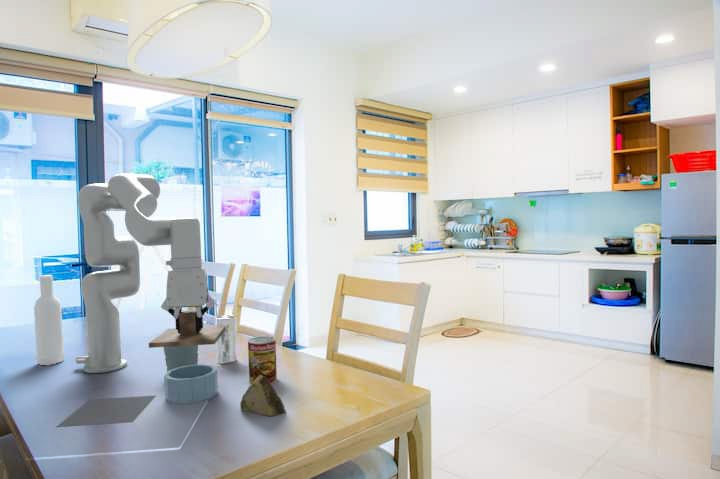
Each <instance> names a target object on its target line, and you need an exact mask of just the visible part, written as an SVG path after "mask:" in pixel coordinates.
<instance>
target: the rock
mask: <svg viewBox="0 0 720 479" xmlns="http://www.w3.org/2000/svg"><path fill="white" fill-rule="evenodd" d="M240 410H242V411H244V412H249V413H251V414H252V413H253V414H257V415H261V416H269V417H274V416H278V415H282V414H284V413H286V412H287V410H286V408H285V405H284V403H283V400H282V399H281V397H280V396H279V395H278V393H277V390H276V389H275V388H274V386H273V385H272V383H270V382H269V381H268V380H267V379H266V377H265V376H262V375H259V376H258V377H257V378H256V379H255V381H254V382H253V383H252V384H251V383H250V386H248V388H247V389H246V391H245V393H244V394H243V395H242V399H241V401H240Z"/></svg>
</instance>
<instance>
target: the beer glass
mask: <svg viewBox="0 0 720 479" xmlns="http://www.w3.org/2000/svg"><path fill="white" fill-rule="evenodd" d="M214 326H226V330H225V332H224V333H223V334H222V335H221V337H220V338H219V339H218V340H217V342H216V343H217V347H218V356H217V363H219V364H221V365H222V364H224V365H225V364H227V365H228V364H233V363H235V362H237V355H236V343H237V334H238V325H237V316H236V315H234V314H224V315H222V314H221V315H218V316H215V324H214Z"/></svg>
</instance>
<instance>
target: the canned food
mask: <svg viewBox="0 0 720 479" xmlns="http://www.w3.org/2000/svg"><path fill="white" fill-rule="evenodd" d="M276 346H277V342H276V338H275V337H273V336H257V337H253V338H249V339H248V340H247V353H248V379H249V380H248V381H249V383H250V385H251V384H252V383H253V382H254V381H255V379H256V378H257V377H258V376H259V375H262V376H265V377H266V379H267V380H268V381H269V382H270V384H273V383H275V382H277V380H278V375H277V374H278V372H277V348H276Z"/></svg>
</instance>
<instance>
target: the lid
mask: <svg viewBox="0 0 720 479" xmlns="http://www.w3.org/2000/svg"><path fill="white" fill-rule="evenodd" d="M196 317H197V313H196V309H193V310H190V309H189V310H188V309H187V310H182V312H180V313H179V323H180V334H178V330H176V327H174V328H167V329H165V330H164V331H163V332H161V333H160V334H159V335H157V336H156V337H155V338H153V339H152V340H151V341H149V342H148V348H150V349H151V348H164V347H172V346H191V345H198V346H204V345H205V346H206V345H207V346H208V345H215V344H216V343H217V340H218V339H219V338H220V337H221V335H222V334H223V333H224V332H225V330H226V326H215V325H214V326H203V328H202V329H201V331H200V332H199V333H197V332H196Z"/></svg>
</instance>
